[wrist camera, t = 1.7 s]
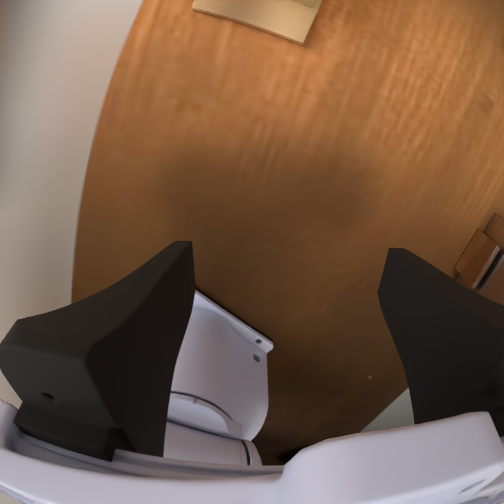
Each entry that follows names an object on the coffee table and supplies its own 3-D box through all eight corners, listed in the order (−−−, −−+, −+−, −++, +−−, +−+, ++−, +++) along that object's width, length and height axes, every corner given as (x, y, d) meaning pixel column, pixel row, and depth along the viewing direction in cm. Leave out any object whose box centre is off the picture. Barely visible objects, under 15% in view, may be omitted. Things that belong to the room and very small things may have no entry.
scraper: (500, 217, 21) (562, 266, 14) (455, 292, 25) (500, 355, 17) (489, 209, 21) (554, 258, 13) (443, 287, 24) (489, 352, 17)
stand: (491, 237, 22) (510, 254, 19) (468, 275, 24) (485, 294, 21) (477, 228, 22) (497, 245, 19) (454, 267, 23) (471, 287, 21)
